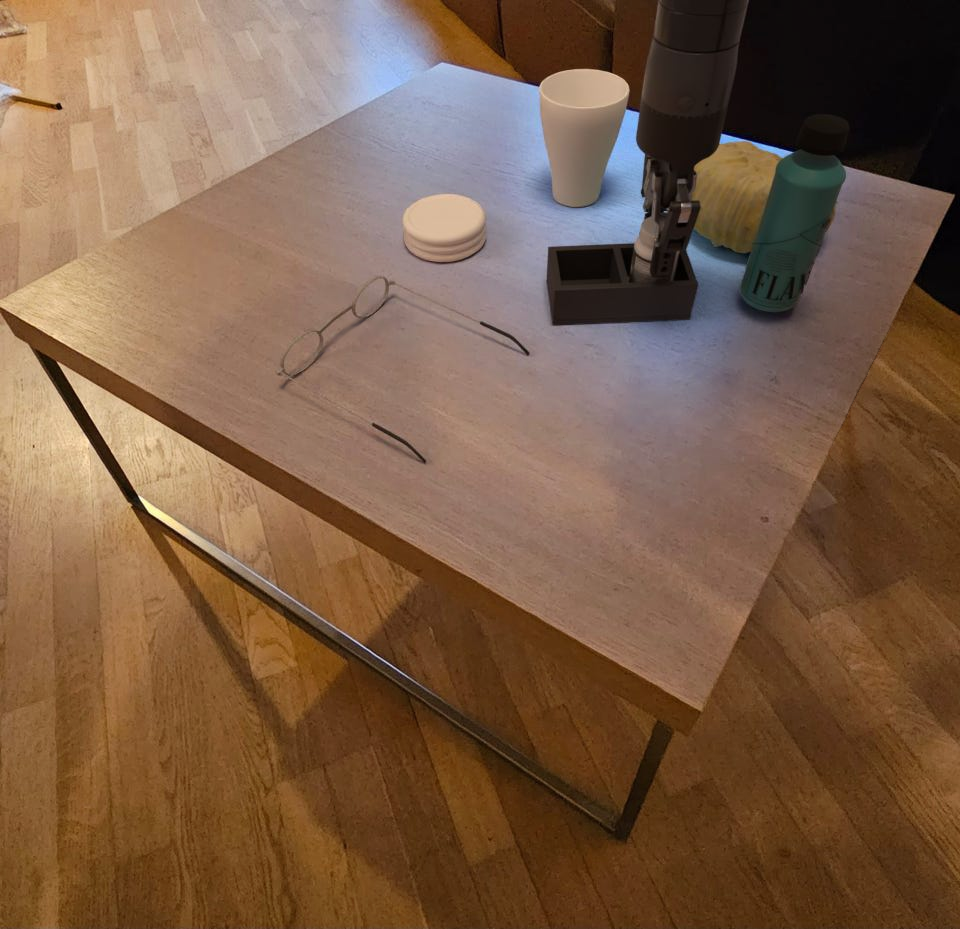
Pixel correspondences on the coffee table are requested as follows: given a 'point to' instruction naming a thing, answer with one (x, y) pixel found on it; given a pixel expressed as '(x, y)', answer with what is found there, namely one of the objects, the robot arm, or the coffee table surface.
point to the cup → (581, 130)
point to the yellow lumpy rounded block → (734, 194)
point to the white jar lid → (444, 227)
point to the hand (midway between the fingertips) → (655, 259)
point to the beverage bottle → (796, 216)
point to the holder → (613, 287)
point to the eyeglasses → (352, 306)
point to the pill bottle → (646, 255)
